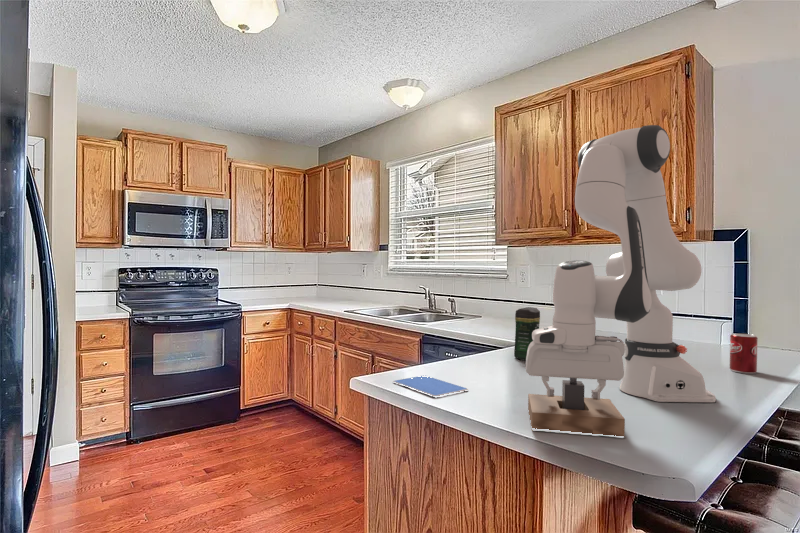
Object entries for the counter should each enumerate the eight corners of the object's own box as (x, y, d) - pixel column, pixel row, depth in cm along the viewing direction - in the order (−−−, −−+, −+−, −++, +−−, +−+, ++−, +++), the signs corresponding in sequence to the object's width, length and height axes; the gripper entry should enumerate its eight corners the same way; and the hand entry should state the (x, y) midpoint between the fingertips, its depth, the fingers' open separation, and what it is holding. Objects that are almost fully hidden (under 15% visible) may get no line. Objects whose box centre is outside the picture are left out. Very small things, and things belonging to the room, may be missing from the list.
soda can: (732, 372, 153) (733, 335, 153) (726, 368, 160) (727, 332, 160) (760, 375, 150) (760, 337, 150) (752, 370, 157) (753, 334, 157)
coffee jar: (532, 362, 167) (533, 309, 167) (511, 358, 172) (511, 307, 171) (542, 357, 175) (543, 307, 174) (522, 354, 179) (522, 305, 179)
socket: (609, 416, 109) (609, 399, 109) (624, 438, 96) (624, 419, 96) (528, 410, 113) (528, 393, 113) (531, 431, 99) (532, 412, 99)
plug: (580, 421, 106) (581, 367, 106) (583, 427, 102) (584, 371, 102) (561, 419, 107) (562, 366, 107) (564, 426, 103) (565, 370, 103)
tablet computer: (391, 384, 138) (391, 380, 138) (425, 378, 145) (425, 374, 145) (434, 401, 122) (434, 396, 122) (470, 393, 129) (470, 388, 129)
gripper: (621, 334, 105) (620, 396, 105) (525, 330, 109) (524, 390, 110) (628, 339, 99) (627, 405, 99) (526, 335, 103) (526, 398, 103)
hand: (572, 397), depth 104 cm, fingers open, 8 cm apart
